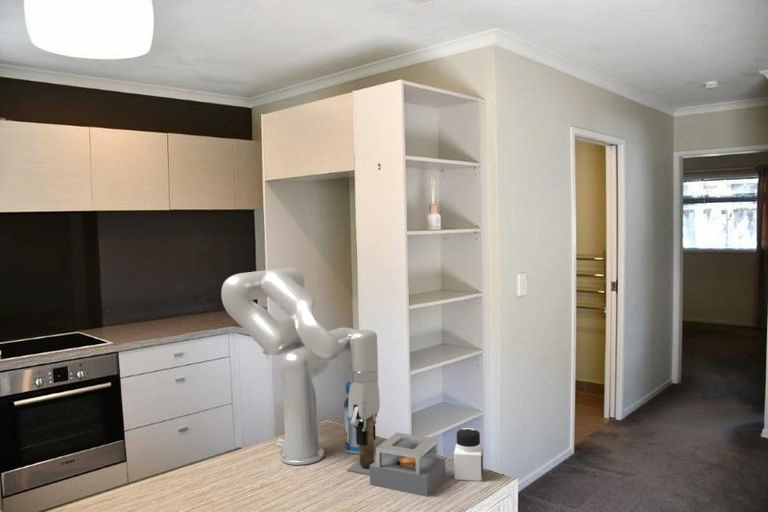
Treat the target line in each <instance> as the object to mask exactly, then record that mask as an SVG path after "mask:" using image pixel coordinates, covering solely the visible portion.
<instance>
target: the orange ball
mask: <svg viewBox="0 0 768 512" xmlns="http://www.w3.org/2000/svg"><path fill="white" fill-rule="evenodd" d="M399 462H400V465H401V466H406V467H411V468H413V467H414V466H416V463H415V458H411V457H405V456H401V457H399Z"/></svg>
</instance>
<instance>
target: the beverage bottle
mask: <svg viewBox="0 0 768 512" xmlns="http://www.w3.org/2000/svg"><path fill="white" fill-rule="evenodd" d="M350 383H351V380H350V381H348V382H346V383H345V394H346V396H347V397H346V399H345V401H344V403H343V408H344V412H343V419H344V438H345V439H344V449H345V451H346V452H347V453H350V454H355V455H356V454H357V455H358V454H359V444H357V443H356V430H355V427H354V426H353V425H351V420H352V419H349V416H348V403H349V389H350ZM359 455H360V454H359Z"/></svg>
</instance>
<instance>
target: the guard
mask: <svg viewBox="0 0 768 512" xmlns="http://www.w3.org/2000/svg"><path fill="white" fill-rule="evenodd" d="M382 453H383V454H386V453H388V454H394V455H399V456H405V457H411V458H415V463H416V474H417V475H420V474H421V457H428V458H434V459H437V458H439V440H438V438H434V437H429V436H428V437H427V436H423V435H422V436H420V435H414V434H409V433H403V432H401V433H400V432H396V433H394V434H393V435H391V436H390V437H389V438H387V439H386V440H384V441H383V442H382V443H380V444H378V445H377V446H376V447H375V456H376V457H375V459H376V460H375V461H376V467H381V466H382V456H383V455H382Z"/></svg>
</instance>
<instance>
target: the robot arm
mask: <svg viewBox="0 0 768 512" xmlns="http://www.w3.org/2000/svg"><path fill="white" fill-rule="evenodd" d="M221 286H222V287H221V292H220V293H221V296H220V297H221V301H222V305H223V307H224V309H225V311H226V313H228V315H229V316H230V317H231V318H232V319H233V320H234V321H235V322H236V323H238V325H239V326H241V328H242V329H243V330H244V331H245V332H246V333H247V334H248V335H249V336H250V337H251V338H252V339H253V340H254V341H255V343H257V345H258V346H259V347H260V348H261V349H262V350H263V351H264V352H265V353H267V355H270V356H281V355H283V354H284V355H283V356H282V358H281V359H280V362H279V365H278V367H279V368H278V369H279V376H280V381H281V386H282V393H283V396H282V397H283V416H284V421H283V423H284V438H283V437H278V438H277V440H276V442H275V447H276V448H281V449H282V451H281V452H280V454H279V460H280V461H281V462H283V463H284V464H287V465H292V466H293V465H294V466H298V465H299V466H300V465H301V466H303V465H309V464H314V463H316V462H318V461H320V460H322V459H323V458H324V456H325V452H324V449H323V448H322V447H320V446H319V421H318V395H317V389H316V387H315V385H314V381H313V378H315V377H317V376H319V375H321V374H324V373H326V371H327V370H328V369H329V367H330V365H331V360H332V361H333V360H335V359H337V358H340V357H343V356H346V355H348V354H349V359H350V360H349V364H350V367H349V368H350V381H351V383H350V389H349V403H348V416H349V419H352V420H351V425H353V426H354V427H355V430H356V443H357V444H359V445H364V446H366V445H367V444H368V442H367V431H366V419H368V418H370V417H371V415H373V433H374V441H375V440H376V438H377V437H376V424H377V416H378V414H379V412H380V405H381V403H380V402H381V400H380V389H379V387H380V386H379V366H378V365H379V363H378V362H379V357H378V355H379V354H378V350H379V349H378V335H377V333H376V332H375V331H374V330H371V329H356V328H351V327H338V328H336V329H335V328H334V329H331V330H329V331H328V330H327V329H326V328H325V327H323V326H322V325H321V324H320V323H319V322H318V321H317V319H316V318H315V316H314V314H313V311H314V309H315V307H316V300H315V298H314V297H313V296H312V295H311V294H310V293H308V292H307V291H306V290H305V289H304V288H305V279H304V276H303V274H302V272H300V271H299V270H298V269H296V268H293V267H285V268H284V267H283V268H278V269H277V268H276V269H269V270H268V269H267V270H256V271H251V272H249V271H248V272H240V273H236V274H233V275H230V276H229V277H227V278H226V279H225V280H224V282H223V284H222V285H221ZM264 298H269V299H270V300H271V301H273V303H274V304H275V305H277V307H278V308H279V309H281V310H282V311H283V313H285V314H286V315H287V316H288V317H289V318H290V319H285V320H281V321H280V320H277V319H276V318H275V317H274V316H273V315H272V314H271V313H270V312H269V311H268V310H267V309H266V308H265V307H264V306H261V305H260V304H258V303H256V302H255V301H254V300H258V299H259V300H260V299H264ZM359 417H361V418H359ZM359 421H361V422H362V424H361V423H359Z"/></svg>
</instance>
